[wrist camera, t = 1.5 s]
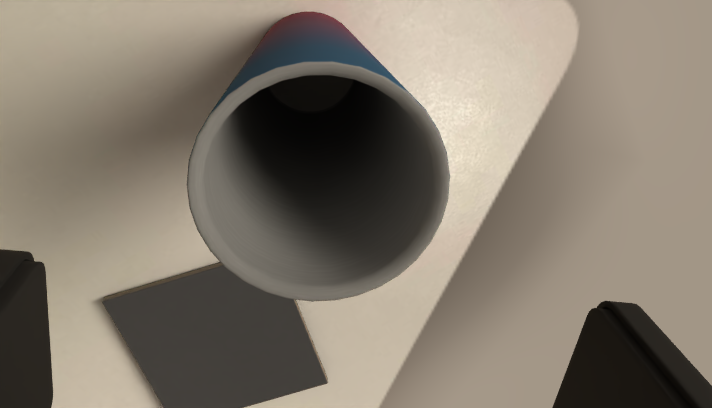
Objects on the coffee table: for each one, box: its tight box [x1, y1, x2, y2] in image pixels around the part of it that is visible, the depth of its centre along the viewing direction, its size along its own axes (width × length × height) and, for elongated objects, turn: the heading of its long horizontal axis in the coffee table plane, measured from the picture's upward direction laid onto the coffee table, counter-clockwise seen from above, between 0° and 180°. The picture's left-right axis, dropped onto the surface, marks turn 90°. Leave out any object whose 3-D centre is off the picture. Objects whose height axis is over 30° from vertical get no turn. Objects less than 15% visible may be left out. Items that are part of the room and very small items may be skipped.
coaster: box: [102, 262, 328, 408], centre depth 35 cm, size 10×10×1 cm
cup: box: [187, 12, 450, 301], centre depth 22 cm, size 7×7×15 cm
